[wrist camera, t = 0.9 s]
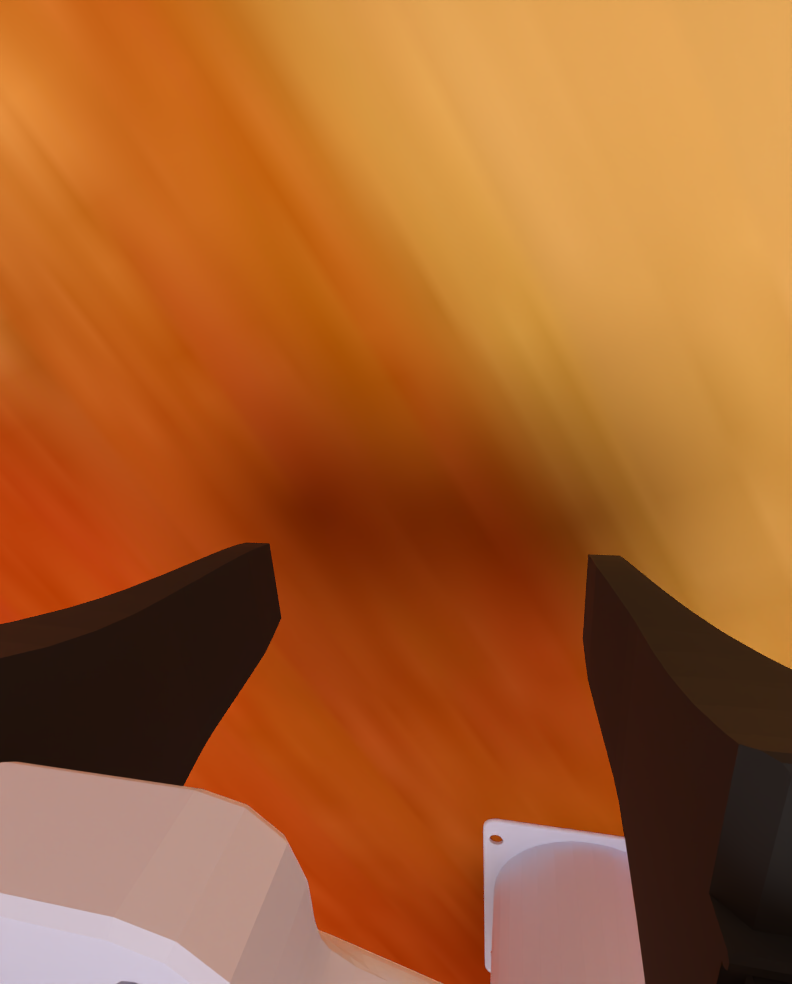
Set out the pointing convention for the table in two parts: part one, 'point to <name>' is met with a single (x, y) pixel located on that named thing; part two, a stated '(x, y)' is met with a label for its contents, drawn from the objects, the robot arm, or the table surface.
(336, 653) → the table surface
